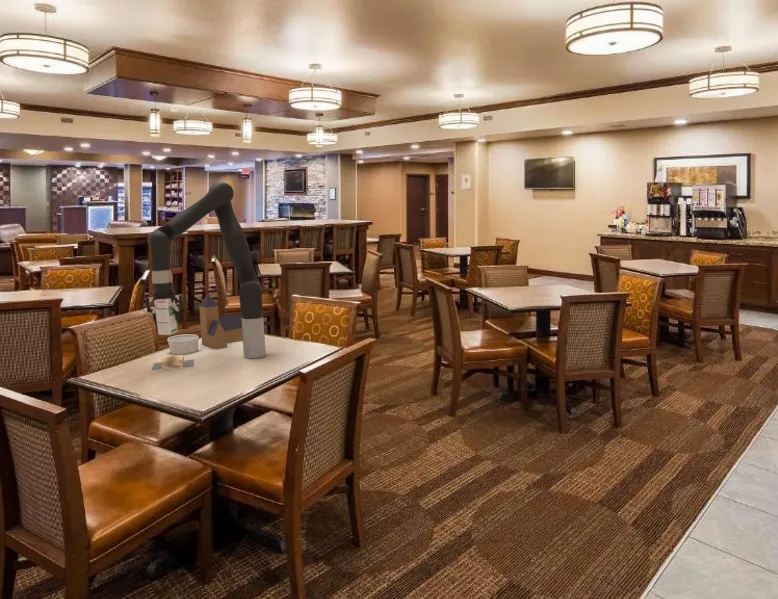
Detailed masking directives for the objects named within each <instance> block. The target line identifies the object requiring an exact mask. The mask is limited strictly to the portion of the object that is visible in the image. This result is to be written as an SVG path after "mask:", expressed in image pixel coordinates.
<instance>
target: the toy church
mask: <svg viewBox="0 0 778 599" xmlns="http://www.w3.org/2000/svg"><path fill="white" fill-rule="evenodd" d="M198 307H199V321H200V334H201V345H202V346H203V345H204V347H206V346H207V347H206V348H209V349H211V348H212V349H211V350H214V349H216V350H219V349H220V348H221V349H225V347H226V348H228V344H233V343H236V342H243V336H242V319H241V313H240V314H233V315H227V316H221V317H220V314H219V305H218V304H217V302H216V301H215V300H214V299H213V297H212V296H211V295H210V293H208V292H207V293H206V294H205V297H204V298H203V299H202V301H201V302H200V304H199V306H198ZM232 342H233V343H232ZM227 343H228V344H227Z"/></svg>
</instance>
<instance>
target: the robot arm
mask: <svg viewBox="0 0 778 599" xmlns="http://www.w3.org/2000/svg"><path fill="white" fill-rule="evenodd" d="M234 193H235V192H234V189H233V187H232V186H231V185H230V184H229V183H227V182H223V181H220V182H216V183H214V184H212V185H211V186H210V187H209V189H208V192H207V193H206V194H205V195H204V196H202V197H201V198H200V199H199V200H198V201H196V202H195V203H194V204H192V205H190V206H188V207H186V208H185V209H184V210H182V211H180V212H179V213H177V214H176V215H175V216H174V217H172V218H171V219H170V220H168V221H167V222H166V223H164V224H162V225H161V226H159V227H157V228H156V229H154V230H153V231H151V233H149V234H148V236H147V243H148V245H149V247H150V253H151V257H150V265H151V282H152V290H153V296H152V297H151V296H150V297H149V296H147V297H146V298H145V302H146V303H145V304H146V312H147V313H151V314H152V319H153V320H152V321H153V322H155V323H156V324H157V318H156V310H155V308H156V309H157V304H156V306H155V305H154V308H152V306H151V305H152V304H151V303H152V302H153V301H154V300H158V299H169V300H170V299H171V300H170V303H171V306H172V307H173V308H174V309H175V310H176V320H177V321H179V320H180V319H181V313H180V311H181V310H184V307H185V305H184V296H183V294H182V293H180V294H175V291H174V282H173V274H172V270H171V262H170V241H172V240H173V239H175V238H176V237H180V236H181V235H183V234H184V233H185V232H186V231H189V229H191V228H192V227H193V226H195V225H196V224H197V223H198V222H200V220H202V219H203V218H204V217H205V216H207V215H208V214H210V213H211V212H213V211H214V213H215V216H216V218H217V222H218V226H219V230H220V234H221V236H222V241H223V244H224V247H225V249H226V253H227V256H228V257H229V259H230V261H231V263H232V265H233V267H234V269H235V270H236V271H235V272H236V273H237V278H238V282H239V291H238V293H239V294H238V296H239V298H238V299H239V308H240V310H239V312H240V317H241V320H242V336H243V341H242V351H243V352H242V353H243V358H246V359H259V358H264V357H266V356H267V355H266V354H267V353H266V351H267V350H266V337H265V336H266V334H265V327H264V326H265V323H264V322H265V321H264V310H263V288H262V284H261V282H260V280H259V278H258V276H257V273H256V270H255V268H254V266H253V265H254V264H253V260H252V255H251V251H250V250H251V249H250V247H249V243H248V241H247V240H248V239H247V238H246V234H245V231H244V229H243V227H242V226H241V224H240V221H239V220H238V218H237V217H236V215H235V213H234V212H235V211H234V208H233V204H232V200H233V199H234ZM174 299H177V301H179V306H178V304H177V303H175V304H174V303H173V301H174ZM172 304H173V305H172Z"/></svg>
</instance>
